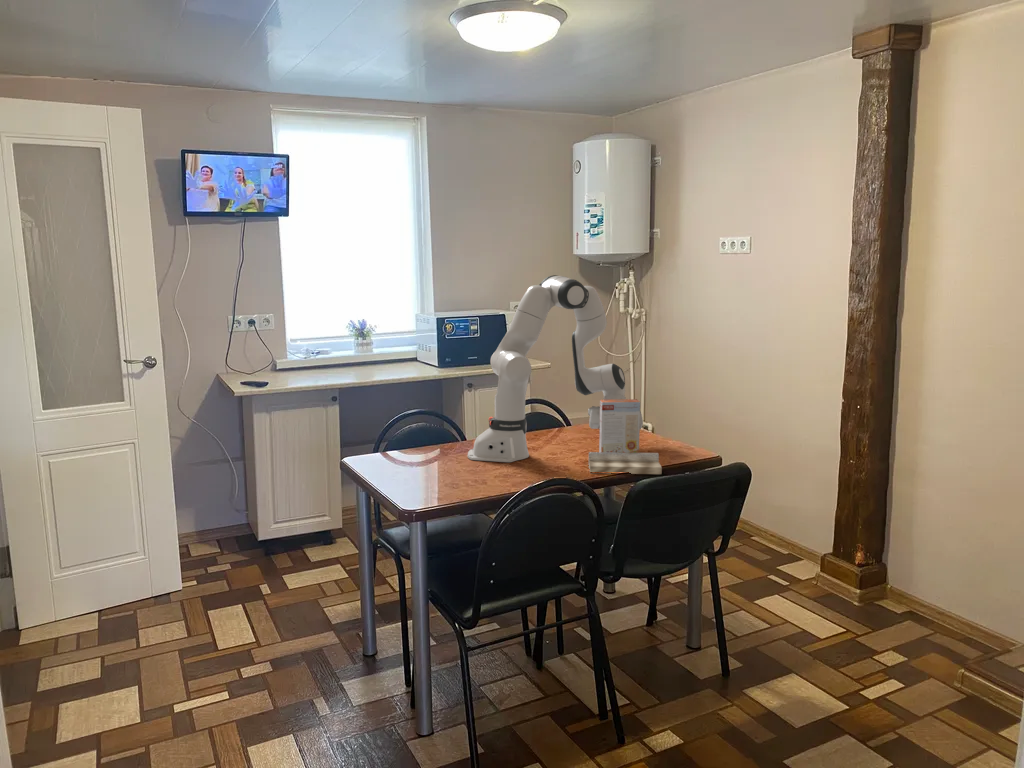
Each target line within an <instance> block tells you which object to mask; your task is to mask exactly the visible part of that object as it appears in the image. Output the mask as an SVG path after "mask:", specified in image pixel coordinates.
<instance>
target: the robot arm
mask: <svg viewBox="0 0 1024 768" xmlns="http://www.w3.org/2000/svg"><path fill="white" fill-rule="evenodd" d="M553 307H557V308H562V309H566V310H572V311H573V313H574V318H575V321H576V327H575V329H574V331H573V332H572V335H571V348H572V350H571V351H572V358H573V368H574V386H575V389H576V391H577V392H579V393H580V394H582V395H583V396H588V395H592V394H596V393H599V392H602V395H603V399H602V400H610V399H627V398H626V395H625V394H626V378H625V373H624V370H623V369H622V368H621V367H620V366H619V365H617V364H616V363H608V364H602V365H598V366H595V367H586V362H585V361H586V360H585V351H584V349H585V347H586V346H587V345H588V344H590V343H592V342H593V341H595V340H596V339H597V338H599V337H600V336H601V335H602V334H603V333H604V332H605V330H606V328H607V326H608V325H607V323H608V321H607V317H606V316H607V315H606V311H605V308H604V305H603V303H602V299H601V297H600V295H599V293H598V291H597V290H596V288H595V287H594V286H591V285H583V284H582V283H581V282H580V281H578V280H577V279H572V278H571V277H568V276H564V275H556V274H555V275H554V274H553V275H549V276H547V277H545V278H544V279H543V280H542V281H541V282H540V284H535V285H534V284H533V285H531V286H529V287H528V288H527V290H526V291H525V292H524V294H523V296H522V297H521V299H520V301H519V303H518V305H517V308H516V311H515V312H514V315H513V317H512V320H511V322H510V323H509V327H508V329H507V331H506V333H505V335H504V336H503V338H502V339H501V341H500V343H499V344H498V346H497V348H496V350H495V351H494V352H493V354H492V355H491V356H490V368H491V369H492V371H493V373H494V374H495V375H496V376H498V381H497V388H496V393H495V395H494V417H493V416H489V417H488V427H489V428H487V429H486V430H485V431H483V432H482V433H480V434H479V435H478V436H476V438H475V440H474V443H473V448H471V449H469V450H468V451H467V458H468V459H469V460H472V461H483V462H484V461H485V462H499V463H513V462H515V461H520V460H525V459H528V458H529V457H530V453H529V450H528V444H527V434H526V433H527V430H528V429H527V417H526V395H527V389H528V384H529V378H530V376H531V374H532V364H531V362H530V361H529V359H528V357H526V356H527V355H528V354H529V352H530V350H531V349H532V348H533V346H534V345H535V344H536V343H537V341H538V340H539V337H540V335H541V332H542V329H543V326H544V325H545V322H546V319H547V317H548V314H549V312H550V311H551V309H552V308H553ZM587 414H588V416H589V421H588V422H589V423H588V425H589V426H588V427H589V428H590V429H592V430H593V429H595V430H597V429H598V430H600V405H599V406H594V405H592V406H591V407H588V409H587ZM643 427H644V420H643V414H642V410H640V430H641V429H642V428H643Z"/></svg>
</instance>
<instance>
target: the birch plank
mask: <svg viewBox="0 0 1024 768" xmlns="http://www.w3.org/2000/svg"><path fill="white" fill-rule="evenodd" d="M588 465H589V466H588V469H590V470H589V473H590V472H629V473H631V474H632V475H635V474H636V475H662V471H663V467H662V465H661V463H660V462H639V461H589V460H588ZM631 474H630V475H631Z"/></svg>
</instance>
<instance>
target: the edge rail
mask: <svg viewBox="0 0 1024 768" xmlns="http://www.w3.org/2000/svg"><path fill="white" fill-rule="evenodd" d="M659 454H660V453H659V452H639V453H621V452H599V451H588V462H589V461H639V462H659V461H660V460H659V459H660V457H659V456H660V455H659ZM659 463H660V462H659Z"/></svg>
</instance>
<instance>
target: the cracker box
mask: <svg viewBox="0 0 1024 768" xmlns="http://www.w3.org/2000/svg"><path fill="white" fill-rule="evenodd" d="M599 406H600V429H599V443H598V444H599V445H598V449H599V451H598V452H621V453H640V430H641V429H640V411H641V401H640V400H639V399H637V398H636V399H634V398H633V399H632V398H630V399H629V398H626V399H610V400H603V399H599Z"/></svg>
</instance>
